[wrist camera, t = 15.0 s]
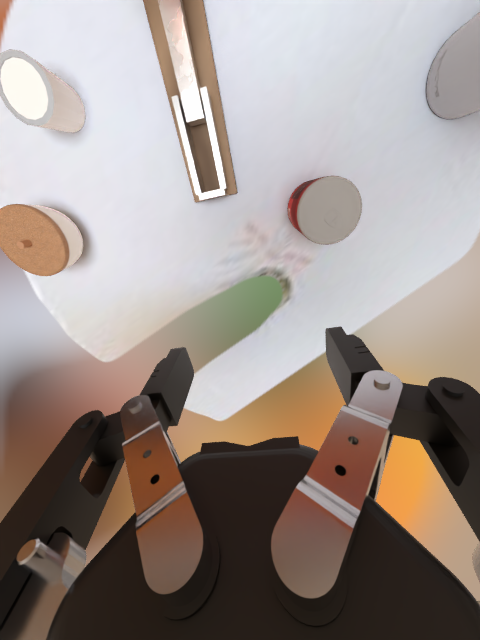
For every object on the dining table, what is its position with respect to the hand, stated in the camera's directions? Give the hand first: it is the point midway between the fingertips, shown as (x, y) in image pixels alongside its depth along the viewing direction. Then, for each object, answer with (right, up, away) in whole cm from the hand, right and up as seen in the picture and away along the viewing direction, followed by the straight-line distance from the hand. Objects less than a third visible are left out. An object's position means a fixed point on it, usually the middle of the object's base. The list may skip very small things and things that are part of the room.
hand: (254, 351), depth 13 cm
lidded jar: (-33, +17, +30) cm, 48 cm away
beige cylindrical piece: (-26, +33, +21) cm, 47 cm away
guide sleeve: (-6, +27, +21) cm, 35 cm away
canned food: (+11, +20, +25) cm, 34 cm away
